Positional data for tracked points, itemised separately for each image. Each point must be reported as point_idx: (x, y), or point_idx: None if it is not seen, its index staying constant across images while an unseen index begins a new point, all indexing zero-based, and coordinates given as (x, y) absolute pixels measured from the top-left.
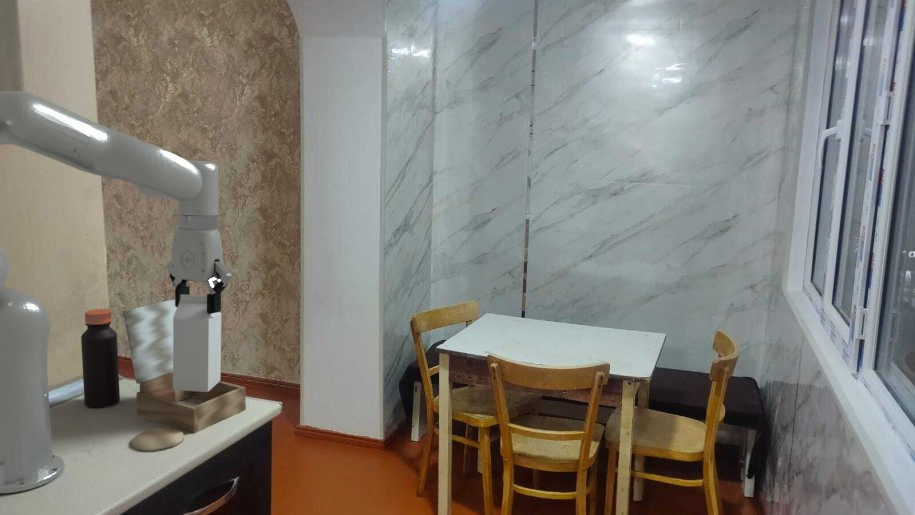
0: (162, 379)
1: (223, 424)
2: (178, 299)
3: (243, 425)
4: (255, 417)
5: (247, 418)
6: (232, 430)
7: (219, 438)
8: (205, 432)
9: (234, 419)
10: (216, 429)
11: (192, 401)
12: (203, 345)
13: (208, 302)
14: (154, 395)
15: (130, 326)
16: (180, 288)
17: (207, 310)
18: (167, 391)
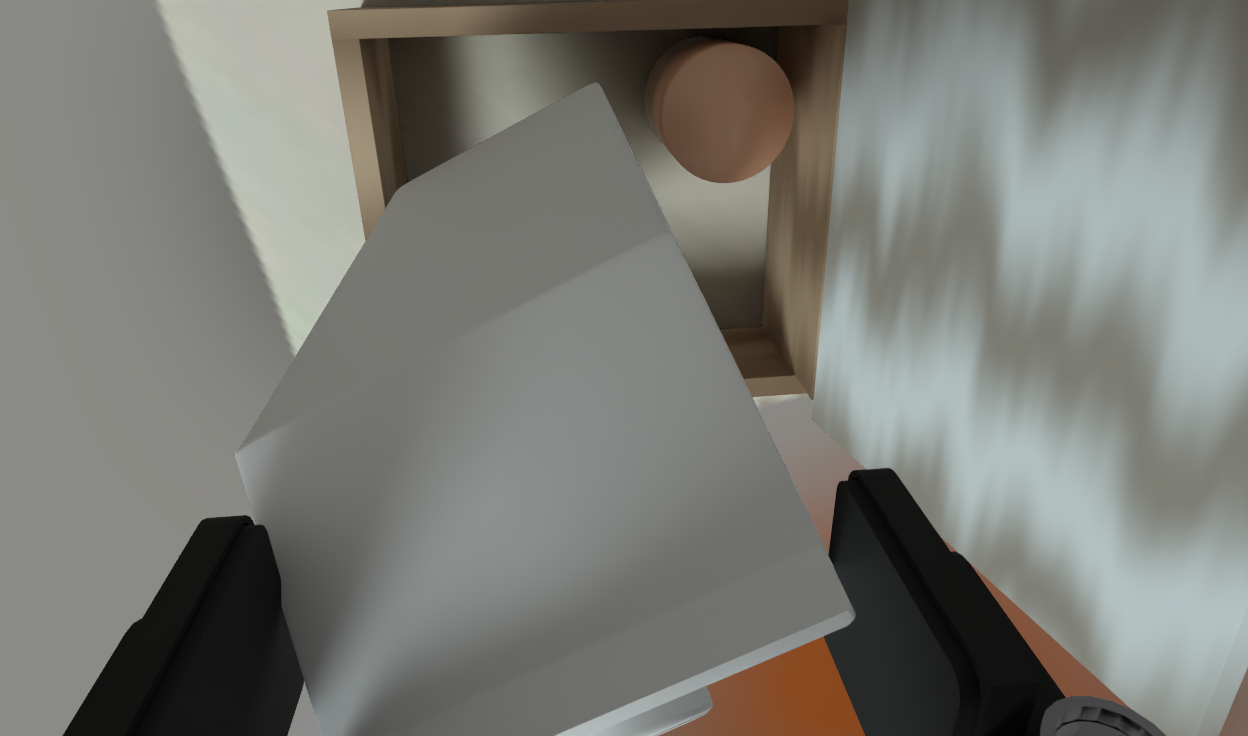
0: (821, 190)
1: (343, 179)
2: (882, 552)
3: (254, 227)
4: (297, 327)
5: (316, 298)
6: (240, 151)
7: (197, 36)
8: (324, 50)
9: (355, 254)
10: (314, 113)
11: (710, 291)
12: (362, 290)
13: (144, 637)
14: (730, 43)
15: (1231, 33)
16: (961, 732)
17: (218, 536)
18: (704, 126)
